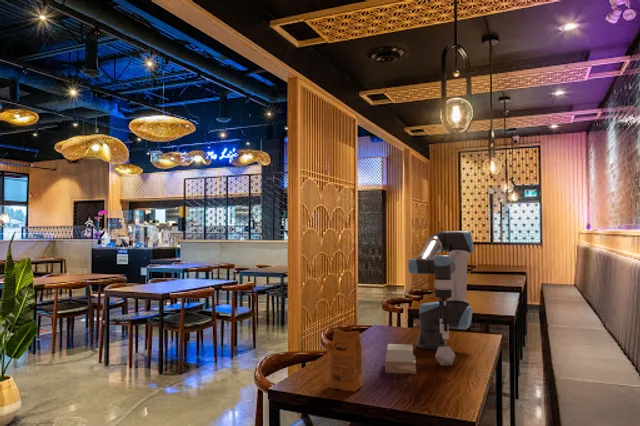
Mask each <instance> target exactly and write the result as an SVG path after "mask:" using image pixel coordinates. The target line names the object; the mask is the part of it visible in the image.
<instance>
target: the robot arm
mask: <svg viewBox="0 0 640 426" xmlns="http://www.w3.org/2000/svg"><path fill="white" fill-rule="evenodd" d="M441 252H445V253H446V252H448V255H443V254H442V255H441V254H439V253H441ZM473 252H474V241H473V236H472V232H471V231H470V230H469V231H468V230H444V231H443V230H441V231H438V232H436V233H434V234H432V235H430V236H429V237H428V238H427V239H426V240H425V242H424V246H423V248H422V250H420V252H419V255H418V256H417V257H416V258H415V257H414V258H410V259H409V260H408V266H407V267H408V268H407V269H408V272H409V273H410V274H411V275H413V274H414V275H434V281H433V284H434V297H435V298H437V299H439V301H431V302H424V303H421V304H420V305H419V312H418V314H419V334H418V336H417V340H416V346H417V347H418V348H420V349H423V350H430V351H431V350H433V351H435V350H436V351H437V350H438V347H447V342H446V340H449V339H450V329H458V330H467V329H469V328H470V326H471V324H472V318H473V307H472V306H470V303H469V301H467V292H468V291H467V289H468V288H467V285H468V283H467V281H468V259H469V257H470V256H471V253H473Z"/></svg>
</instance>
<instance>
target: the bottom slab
mask: <svg viewBox="0 0 640 426" xmlns="http://www.w3.org/2000/svg"><path fill="white" fill-rule="evenodd" d="M416 361H417V360H416V355H415V354H413V362H390V361H387V353H386V355H385V360H384V362H385V363H384V366H385V367H384V368H385V372H384V373H387V374H390V373H391V374H406V373H411V374H412V375H417V362H416ZM411 374H410V375H411Z"/></svg>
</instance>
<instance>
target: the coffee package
mask: <svg viewBox="0 0 640 426" xmlns="http://www.w3.org/2000/svg"><path fill="white" fill-rule="evenodd" d="M360 334H361V333H360V331H359V330H357V331H343V330H339V329H336V328H335V329H333V335H332V342H331V350H330V367H329V380H330V384H329V385H330V386H329V387H330V389H331V388H332V389H331V390H334V389H336V390H340V391H342V390H343V391H342V392H357V391H358V390H359V389H360V387H362V386H363V376H362V369H363V366H362V363H363V361H362V360H363V359H362V356H363V355H362V354H363V349H362V343H361V338H360Z"/></svg>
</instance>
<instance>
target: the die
mask: <svg viewBox="0 0 640 426" xmlns="http://www.w3.org/2000/svg"><path fill="white" fill-rule="evenodd" d="M434 357H435V359H436V361H437V362H438V363H439V365H440V366H453V363H454V361H455V359H456V353H455V352H454V351H453V349H452V348H451V347H450V346H446V347H438V350H436V353H435V355H434Z"/></svg>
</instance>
